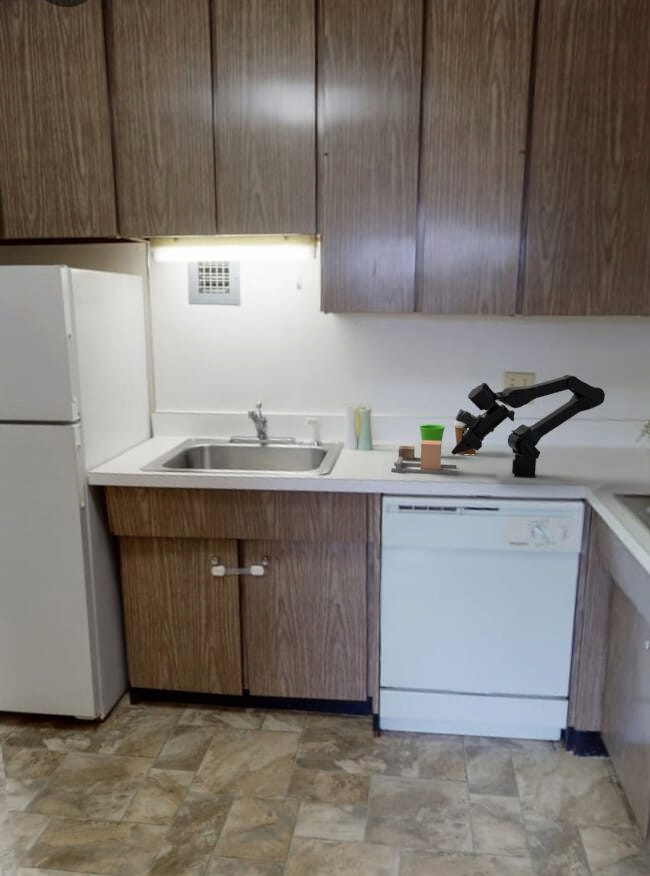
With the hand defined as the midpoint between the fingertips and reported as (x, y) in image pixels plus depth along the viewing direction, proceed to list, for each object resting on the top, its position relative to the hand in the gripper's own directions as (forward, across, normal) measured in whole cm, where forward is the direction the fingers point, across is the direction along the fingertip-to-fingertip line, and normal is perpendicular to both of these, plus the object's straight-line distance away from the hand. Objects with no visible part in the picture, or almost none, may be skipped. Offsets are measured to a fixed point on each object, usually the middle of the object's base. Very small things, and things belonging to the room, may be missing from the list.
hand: (452, 453), depth 210 cm
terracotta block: (+9, 0, -1) cm, 9 cm away
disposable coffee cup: (+2, -32, +8) cm, 33 cm away
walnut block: (+16, -15, -6) cm, 23 cm away
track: (+11, 0, -1) cm, 11 cm away
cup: (+10, -23, 0) cm, 25 cm away
